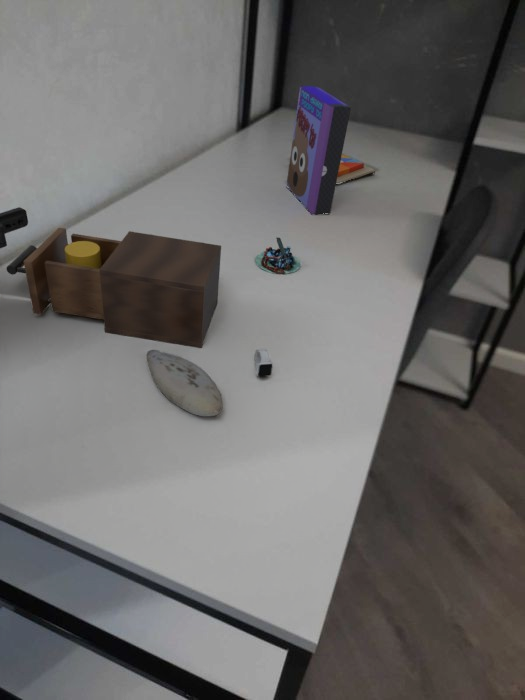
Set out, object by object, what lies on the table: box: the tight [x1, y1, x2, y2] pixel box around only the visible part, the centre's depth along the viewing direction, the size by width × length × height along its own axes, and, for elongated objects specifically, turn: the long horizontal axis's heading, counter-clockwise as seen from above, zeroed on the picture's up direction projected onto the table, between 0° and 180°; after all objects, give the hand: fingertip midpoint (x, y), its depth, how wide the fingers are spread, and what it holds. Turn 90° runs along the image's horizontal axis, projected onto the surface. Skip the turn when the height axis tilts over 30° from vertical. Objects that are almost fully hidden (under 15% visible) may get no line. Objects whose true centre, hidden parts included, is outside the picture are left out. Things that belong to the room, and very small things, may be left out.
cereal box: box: [286, 85, 352, 215], centre depth 122 cm, size 17×5×24 cm, turn 18°
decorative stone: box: [145, 349, 223, 417], centre depth 69 cm, size 6×16×3 cm, turn 45°
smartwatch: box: [253, 348, 274, 377], centre depth 74 cm, size 4×2×4 cm, turn 13°
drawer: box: [6, 227, 122, 320], centre depth 80 cm, size 18×12×9 cm, turn 83°
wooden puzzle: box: [336, 153, 376, 183], centre depth 148 cm, size 18×19×4 cm
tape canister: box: [65, 241, 102, 269], centre depth 80 cm, size 5×5×8 cm
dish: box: [254, 236, 301, 275], centre depth 102 cm, size 8×7×8 cm
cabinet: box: [99, 230, 222, 349], centre depth 80 cm, size 15×13×11 cm
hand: (2, 204), depth 64 cm, fingers open, 8 cm apart
